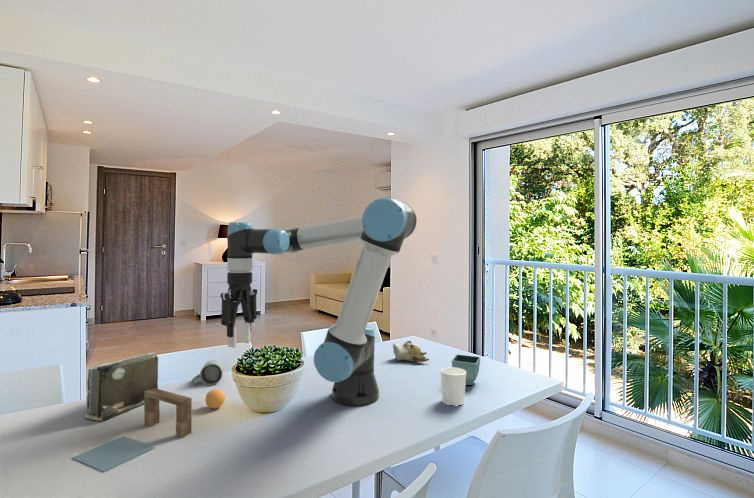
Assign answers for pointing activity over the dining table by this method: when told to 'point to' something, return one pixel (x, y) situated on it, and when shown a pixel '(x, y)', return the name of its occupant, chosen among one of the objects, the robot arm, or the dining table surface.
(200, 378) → the ceramic mug
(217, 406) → the ball
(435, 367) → the dining table surface
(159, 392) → the bridge
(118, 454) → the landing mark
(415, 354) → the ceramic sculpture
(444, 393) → the white cup
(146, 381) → the radio
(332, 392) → the robot arm
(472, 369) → the flower pot
